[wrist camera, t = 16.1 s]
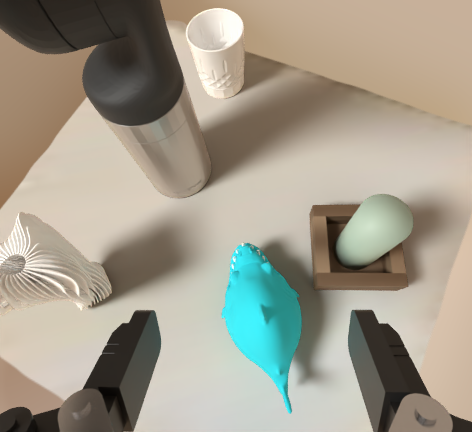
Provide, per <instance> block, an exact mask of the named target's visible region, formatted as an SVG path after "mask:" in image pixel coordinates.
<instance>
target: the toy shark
mask: <svg viewBox="0 0 472 432" xmlns="http://www.w3.org/2000/svg"><path fill="white" fill-rule="evenodd" d="M297 297H300V296H299V295H298V293H297V292H296V291H295V290H294V289H292V288H290V286H289V285H288V283H287V281H286V280H285V278H284V277H283V276H282V275H281V274H280V273H279V272H277V271H276V270H275V269H274V267H273V266H272V265H271V264H270V262H269V261H268V259H267V257H266V256H265V255H264V254H263V252H262V251H261V250H260V249H259V248H257V247H256V246H254V245H252V244H249V243H245V244H244V243H242V245H239V246H238V247H237V248H236V250H235V251H234V253H233V255H232V258H231V265H230V278H229V284H228V287H227V291H226V296H225V307H224V308H223V310H222V318H224V317H225V320H226V325H227V328H228V331H229V334H230V336H231V338H232V340H233V341H234V343H235V345H236V346H237V347H238V349H239V350H240V351H241V352H242V353H243V354H244V355H245V356H246V357H247V358H248V359H250V360H251V361H253V362H254V363H255V364H257V365H258V366H259V367H260V368H262V369H263V370H264V371H265V372H266V373H267V374H268V375H269V376H270V377H271V378H272V380H273V381H274V383H275V384H276V386H277V387H278V389H279V391H280V392H281V394H282V395H283V399H284V402H285V406H286V408H287V411H288V413H290V414H291V412H292V409H291V404H290V401H289V397H288V373H289V368H290V364H291V361H292V358H293V355H294V353H295V350H296V348H297V346H298V343H299V340H300V335H301V328H302V317H301V310H300V305H299V302H298V300H297Z"/></svg>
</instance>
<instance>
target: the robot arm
mask: <svg viewBox="0 0 472 432" xmlns="http://www.w3.org/2000/svg"><path fill="white" fill-rule="evenodd" d="M0 29H2V30H3V31H4V32H5V33H7V34H8V35H9V36H11V37H12V38H13V39H15V40H16V41H18V42H19V43H21V44H23V45H24V46H26V47H28V48H30V49H32V50H34V51H36V52H39V53H44V54H63V53H69V52H73V51H77V50H79V49H84V48H87V47H91V46H94V45H98V44H99V45H98V46H97V47H96V48H95V49H94V50H93V51H92V53H91V54H90V56H89V57H88V59H87V61H86V63H85V66H84V69H83V77H82V79H83V86H84V90H85V92H86V95H87V97H88V98H89V100H90V101H91V103H92V104H93V106H94V107H95V108H96V110H97V111H98V112H99V114H100V115H101V116H102V118H103V119H104V120H105V122H106V123H107V124H108V126H109V127H110V128H111V130H112V131H113V132H114V133H115V135H116V136H117V137H118V139H119V140H120V141H121V143H122V144H123V145H124V147H125V148H126V149H127V151H128V152H129V153H130V155H131V156H132V157H133V159H134V160H135V161H136V163H137V164H138V165H139V167H140V168H141V169H142V171H143V172H144V173H145V175H146V176H147V177H148V179H149V180H150V181H151V183H152V184H153V185H154V187H155V188H156V189H157V190H158V191H159V192H160V193H162V194H163V195H165V196H168V197H172V198H183V197H188V196H191V195H193V194H195V193H197V192H198V191H199V190H200V189H202V188H203V187H204V185H205V184H206V183H207V181H208V179H209V177H210V174H211V161H210V157H209V154H208V151H207V148H206V144H205V141H204V138H203V135H202V132H201V129H200V126H199V123H198V120H197V117H196V114H195V110H194V107H193V104H192V101H191V98H190V95H189V92H188V89H187V86H186V83H185V80H184V77H183V73H182V70H181V67H180V64H179V62H178V59H177V56H176V53H175V50H174V48H173V45H172V41H171V38H170V35H169V32H168V29H167V26H166V22H165V18H164V14H163V11H162V7H161V3H160V0H0ZM348 347H349V353H350V357H351V360H352V363H353V367H354V370H355V373H356V376H357V379H358V383H359V386H360V389H361V392H362V396H363V399H364V402H365V405H366V409H367V412H368V415H369V418H370V422H371V425H372V428H373V431H374V432H472V422H470V421H467V420H464V419H461V418H458V417H455V416H453V415H451V414H449V413H448V411H447V410H446V409H445V408H444V406H443V405H441V404H440V403H439V402H438V401H436V400H435V399H433V398H431V396H430V395H429V393H428V391H427V389H426V387H425V385H424V383H423V381H422V379H421V377H420V375H419V373H418V371H417V369H416V367H415V365H414V363H413V361H412V359H411V358H410V357H409V354H408V352H407V350H406V348H405V347H404V344H403V342H402V340H401V338H400V336H399V334H398V333H397V332H396V331H395V330H394V329H393V328H392V327H391V326H390V325H389V324H379V323H378V320H377V318H376V316H375V314H374V312H373V311H372V310H352V312H351V318H350V326H349V335H348ZM160 349H161V336H160V331H159V326H158V322H157V317H156V313H155V311H154V310H137V311H135V312H134V314H133V316H132V318H131V320H130V322H129V323H122V324H121V325H120V326H119V327H118V328H117V329H116V330H115V331H114V332H113V333H112V335H111V337H110V338H109V340H108V342H107V346H105V348H104V350H103V352H102V355H100V357H99V359H98V361H97V363H96V365H95V367H94V369H93V371H92V372H91V374H90V376H89V378H88V380H87V382H86V384H85V386H84V387H83V389H82V390H80V391H78V392H76V393H74V394H73V395H71V396H70V397H69V398H68V399H67V400H66V401H65V402H64V403H63V405H62V406H61V407H60V408H57V409H55V410H51V411H48V412H44V413H40V414H37V415H32V414H31V412H30V410H29V409H27V408H25V407H16V408H12V409H9V410H7V411H5V412H3V413H2V414H0V432H123V431H126V432H133V431H134V428H135V425H136V422H137V419H138V416H139V413H140V410H141V407H142V404H143V401H144V398H145V395H146V392H147V389H148V386H149V383H150V380H151V377H152V374H153V371H154V368H155V365H156V362H157V359H158V356H159V353H160Z"/></svg>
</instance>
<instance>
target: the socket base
mask: <svg viewBox="0 0 472 432" xmlns="http://www.w3.org/2000/svg"><path fill="white" fill-rule="evenodd" d="M359 207H360V205H313V206H312V209H311V212H310V232H311V249H312V266H313V284H314V290H391V291H397V290H400V289H403V288H405V287H408V281H407V275H406V268H405V262H404V256H403V249H402V243H399V244H398V245H396V246H395V247H394V248H392V249H391V250H389V251H388V252H386V253H385V254H384V255H382V256H381V257H379V258H378V259H377V260H375V261H374V262H372V263H371V264H370V265H368V266H367V267H365V268H364V269H361V270H349V269H347V268H345V267H343V266H341V265H340V264H339V263H338V262H337V260H336V259H335V257H334V253H333V245H334V242H335V240H336V239H337V238H338V236H339V235H340V233H341V232H342V231H343V229H344V228H345V226H346V225H347V224H348V222H349V221H350V219H351V218H352V217H353V215H354V214H355V212H356V211H357V210H358V208H359Z"/></svg>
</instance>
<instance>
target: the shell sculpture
mask: <svg viewBox="0 0 472 432" xmlns="http://www.w3.org/2000/svg"><path fill="white" fill-rule="evenodd" d="M0 263H4V264H0V315H2V316H3V315H5V314H6V313H8V312H9V311H11V310H12V309H15V310H23V309H26V308H29V307H31V306H34V305H38V304H43V303H47V302H51V301H60V300H65V301H72V302H74V303H75V304H76V305H78V308H79V307H80V309H81V311H82V310H83V308H85V309H87V308H88V306H89V305H90V307H92V302H94V305H95V297H96V299H97V296H98V298H99V299H100V301H102V299H101V297H102V298H103V299H105V296H106V297H108V296H109V294H111V293H112V290H111V288H112V287H111V285H110V282H109V279H108V277H107V275H106V273H105V271H104V268H103V267H102V266H101V265H100V264H99V263H97V262H91V261H89V260H88V259H86V258H85V257H84V256H83V255H82V253H81V252H80V251H78V250H77V249H76V248H75V247H74V246H73V245H72V244H70V243H69V242H68V241H67V240H66V239H65V238H64V237H63V236H62V235H61V234H59V233H58V232H57V231H56V230H55V229H54V228H53V227H51V226H50V225H48V224H46V223H44V222H43V221H42V220H40V219H39V218H38V217H36V216H34V215H32V214H25V213H23V212H20V213H18V217H17V218H16V224H15V226H14V230H13V231H12V235H11V236H9V238H8V239H7V240H6V241H5V242H3V243H1V244H0ZM19 263H23V264H19ZM25 264H26V265H25ZM18 265H23V266H18ZM24 266H25V267H24ZM23 268H24V269H23ZM89 288H90V289H92V290H93V291H94V292H95V293H96V294H97V296H96V294H95V293H94V292H93V291H92V290H90V289H89ZM63 292H64V293H63ZM15 298H16V299H17V301H16V299H15ZM5 302H7V303H8V305H7V306H5V307H3V305H2V304H3V303H5ZM97 303H99V302H98V299H97ZM22 304H27V305H22Z"/></svg>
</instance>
